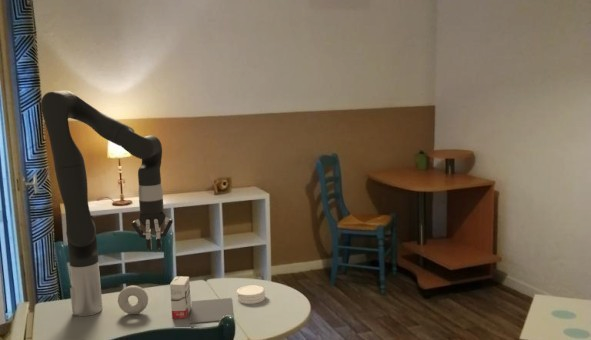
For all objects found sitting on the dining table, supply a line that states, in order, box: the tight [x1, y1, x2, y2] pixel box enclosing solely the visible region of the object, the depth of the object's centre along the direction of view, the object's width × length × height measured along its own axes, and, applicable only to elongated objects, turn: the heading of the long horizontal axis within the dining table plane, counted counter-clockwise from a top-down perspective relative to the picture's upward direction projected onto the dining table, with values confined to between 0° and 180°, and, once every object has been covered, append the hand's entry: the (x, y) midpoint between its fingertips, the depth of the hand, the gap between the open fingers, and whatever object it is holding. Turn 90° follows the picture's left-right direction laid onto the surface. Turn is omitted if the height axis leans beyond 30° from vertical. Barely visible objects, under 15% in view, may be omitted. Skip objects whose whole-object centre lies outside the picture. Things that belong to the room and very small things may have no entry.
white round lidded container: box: [236, 284, 266, 305], centre depth 201 cm, size 10×10×4 cm
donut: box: [117, 284, 149, 315], centre depth 190 cm, size 10×4×10 cm, turn 94°
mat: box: [189, 297, 234, 325], centre depth 191 cm, size 14×18×1 cm
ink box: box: [169, 275, 192, 319], centre depth 189 cm, size 9×5×12 cm, turn 179°
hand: (154, 249), depth 185 cm, fingers closed
